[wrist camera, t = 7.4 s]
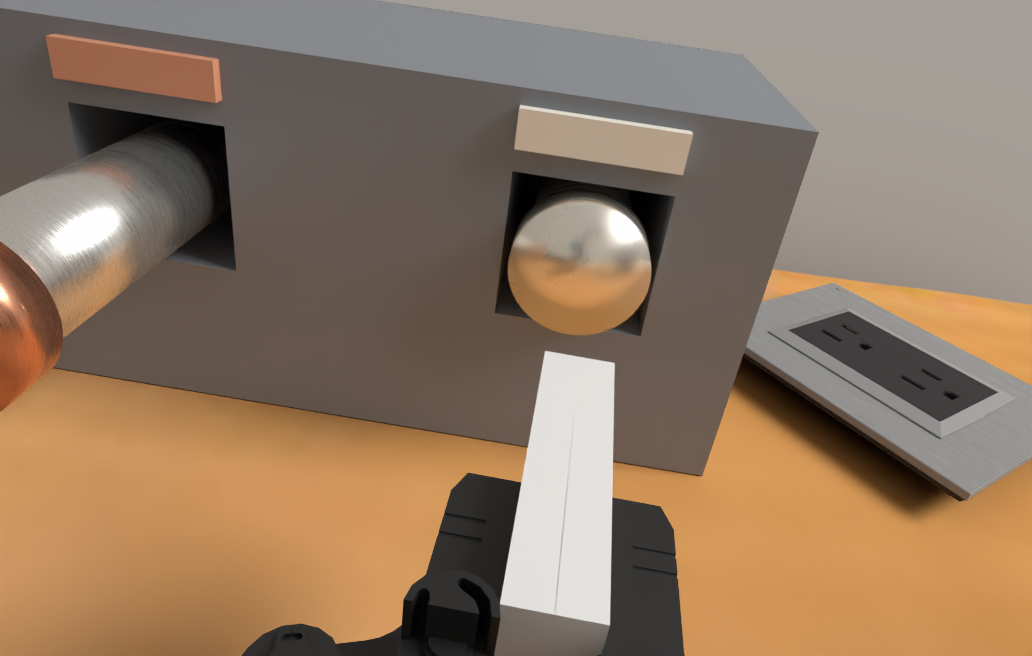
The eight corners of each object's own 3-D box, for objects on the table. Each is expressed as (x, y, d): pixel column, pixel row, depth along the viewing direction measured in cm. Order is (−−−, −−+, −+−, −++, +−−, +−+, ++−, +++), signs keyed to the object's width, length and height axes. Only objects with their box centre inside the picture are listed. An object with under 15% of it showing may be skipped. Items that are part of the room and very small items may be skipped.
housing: (703, 482, 27) (822, 135, 20) (25, 369, 27) (-76, -1, 21) (673, 311, 38) (742, 54, 32) (196, 234, 39) (167, -32, 32)
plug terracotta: (37, 436, 16) (-11, 262, 14) (-149, 405, 16) (-225, 227, 14) (251, 239, 26) (243, 118, 24) (134, 220, 26) (115, 99, 24)
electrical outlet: (1067, 454, 32) (1095, 411, 31) (945, 535, 26) (974, 487, 25) (820, 315, 41) (834, 278, 40) (691, 354, 35) (703, 312, 34)
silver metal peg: (634, 345, 23) (666, 218, 21) (500, 323, 23) (517, 194, 21) (626, 216, 33) (646, 120, 31) (531, 201, 33) (545, 104, 31)
